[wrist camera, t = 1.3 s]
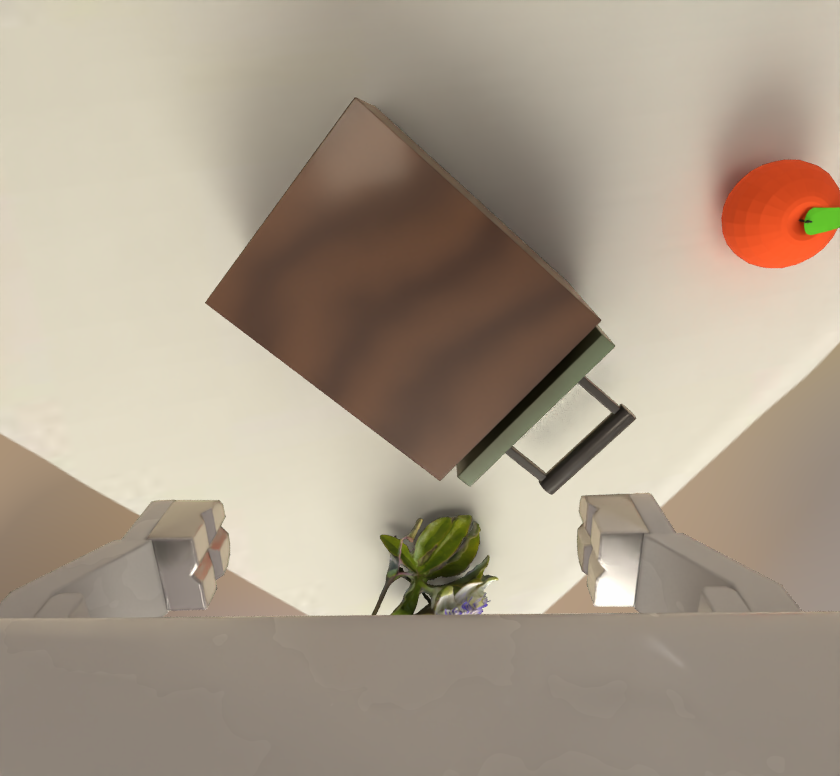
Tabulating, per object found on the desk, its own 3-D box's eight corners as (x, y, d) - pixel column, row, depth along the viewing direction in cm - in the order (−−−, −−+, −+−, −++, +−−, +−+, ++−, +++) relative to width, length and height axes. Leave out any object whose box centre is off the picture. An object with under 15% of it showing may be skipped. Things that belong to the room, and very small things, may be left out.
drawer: (636, 356, 47) (677, 401, 39) (515, 470, 52) (530, 533, 43) (405, 146, 42) (397, 149, 34) (291, 292, 46) (259, 326, 38)
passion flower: (451, 550, 62) (421, 676, 56) (363, 505, 58) (321, 635, 52) (529, 535, 54) (505, 680, 48) (433, 481, 50) (392, 632, 43)
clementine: (825, 148, 42) (897, 151, 36) (814, 249, 45) (879, 269, 38) (706, 164, 43) (755, 170, 36) (702, 263, 46) (747, 285, 39)
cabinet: (567, 281, 46) (602, 320, 36) (439, 414, 51) (440, 481, 41) (374, 105, 42) (355, 96, 32) (253, 267, 47) (204, 303, 37)
